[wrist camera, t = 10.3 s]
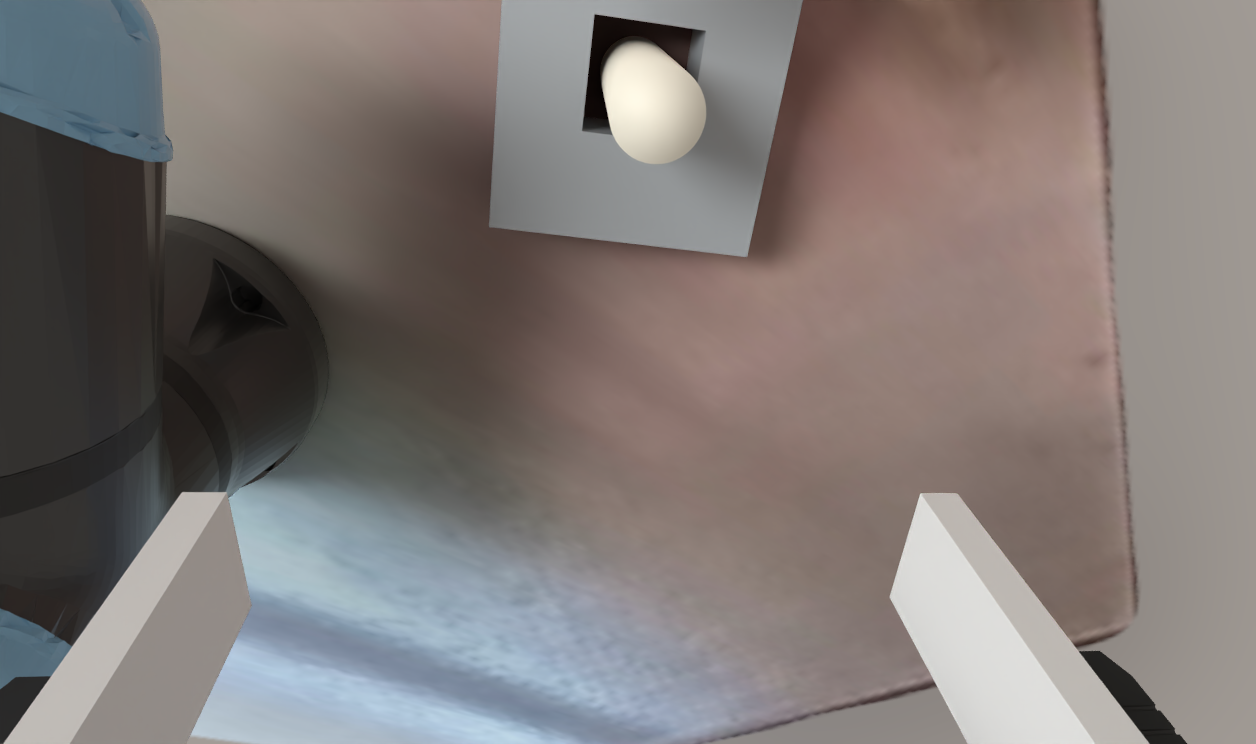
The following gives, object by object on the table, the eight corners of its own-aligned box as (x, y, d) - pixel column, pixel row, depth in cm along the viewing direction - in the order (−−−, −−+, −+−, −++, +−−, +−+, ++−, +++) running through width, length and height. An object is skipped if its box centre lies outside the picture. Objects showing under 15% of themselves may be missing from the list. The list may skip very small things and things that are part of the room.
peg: (603, 31, 35) (615, 56, 24) (673, 40, 35) (714, 69, 24) (596, 104, 36) (603, 158, 26) (663, 112, 37) (697, 169, 26)
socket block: (497, 203, 38) (488, 226, 35) (521, -186, 31) (513, -206, 27) (731, 231, 39) (746, 257, 36) (807, -135, 32) (835, -149, 29)
